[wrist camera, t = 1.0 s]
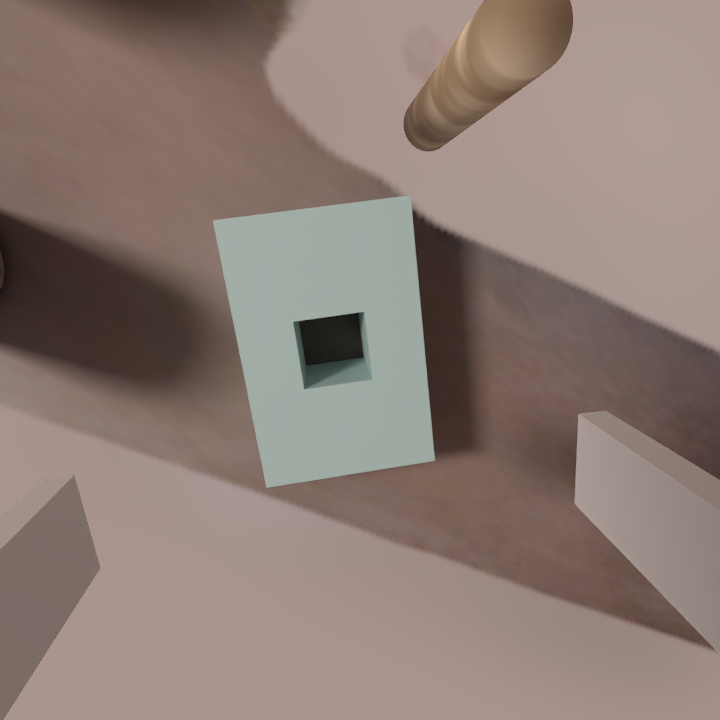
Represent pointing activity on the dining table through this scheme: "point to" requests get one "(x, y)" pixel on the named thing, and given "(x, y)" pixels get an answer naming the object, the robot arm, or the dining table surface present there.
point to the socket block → (325, 299)
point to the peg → (488, 66)
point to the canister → (1, 271)
